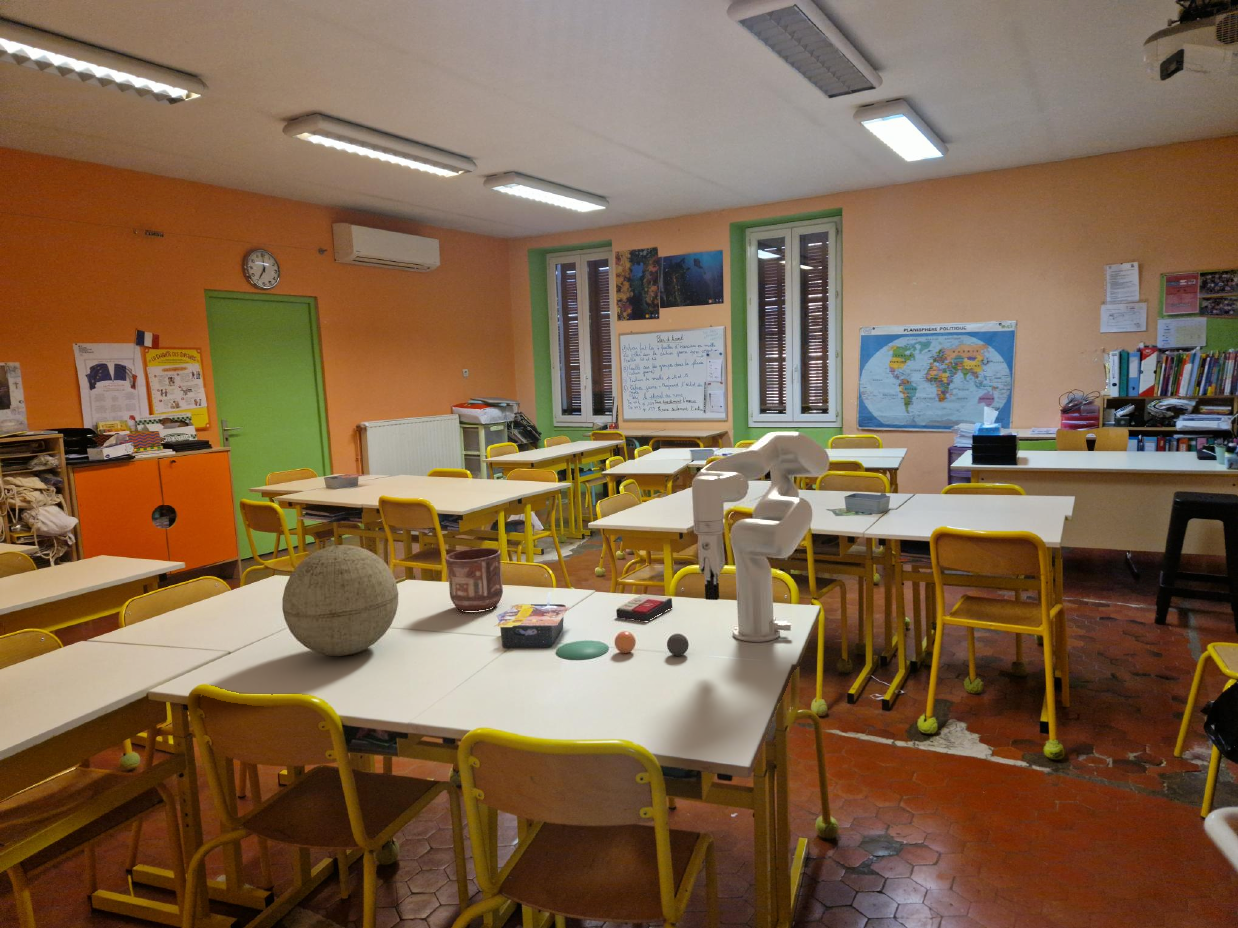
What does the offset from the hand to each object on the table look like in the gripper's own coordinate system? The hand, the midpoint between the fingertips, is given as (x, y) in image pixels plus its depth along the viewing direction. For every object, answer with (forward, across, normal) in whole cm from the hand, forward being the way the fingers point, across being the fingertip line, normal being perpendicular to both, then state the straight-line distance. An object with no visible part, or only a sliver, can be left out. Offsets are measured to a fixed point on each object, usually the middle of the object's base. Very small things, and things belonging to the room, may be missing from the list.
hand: (712, 598), depth 187 cm
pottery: (+15, +33, +84) cm, 92 cm away
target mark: (+15, 0, +36) cm, 39 cm away
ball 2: (+12, 0, +10) cm, 16 cm away
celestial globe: (+15, -11, +101) cm, 103 cm away
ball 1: (+12, 0, +24) cm, 27 cm away
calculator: (+16, +34, +27) cm, 46 cm away
